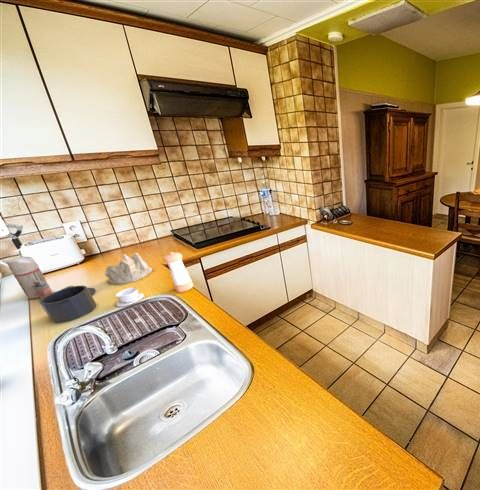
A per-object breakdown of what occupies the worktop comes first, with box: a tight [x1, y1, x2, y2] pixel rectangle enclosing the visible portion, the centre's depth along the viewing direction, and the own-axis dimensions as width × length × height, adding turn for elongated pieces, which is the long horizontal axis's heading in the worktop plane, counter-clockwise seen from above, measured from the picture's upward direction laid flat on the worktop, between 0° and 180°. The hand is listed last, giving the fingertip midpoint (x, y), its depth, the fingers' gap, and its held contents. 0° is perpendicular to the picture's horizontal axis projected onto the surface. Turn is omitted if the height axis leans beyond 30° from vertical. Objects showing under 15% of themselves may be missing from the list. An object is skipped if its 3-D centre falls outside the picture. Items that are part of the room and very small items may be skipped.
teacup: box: [115, 287, 145, 307], centre depth 120 cm, size 10×10×5 cm
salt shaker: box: [163, 251, 194, 293], centre depth 125 cm, size 7×7×19 cm
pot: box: [39, 285, 98, 324], centre depth 113 cm, size 14×19×10 cm
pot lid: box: [65, 285, 97, 296], centre depth 124 cm, size 15×15×6 cm
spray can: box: [6, 256, 53, 300], centre depth 126 cm, size 8×8×20 cm
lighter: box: [32, 280, 53, 301], centre depth 124 cm, size 8×3×10 cm, turn 73°
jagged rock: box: [104, 252, 154, 285], centre depth 140 cm, size 16×16×15 cm
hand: (0, 252), depth 102 cm, fingers open, 9 cm apart
